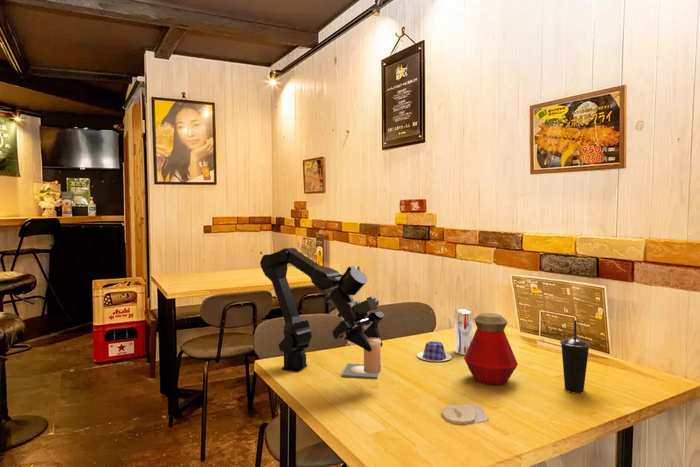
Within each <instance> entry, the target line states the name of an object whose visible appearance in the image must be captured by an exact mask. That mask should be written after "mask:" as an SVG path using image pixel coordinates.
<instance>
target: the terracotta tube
mask: <svg viewBox="0 0 700 467" xmlns="http://www.w3.org/2000/svg"><path fill="white" fill-rule="evenodd" d="M365 338H366V340H367V341H368V343H369V344H370V346H371V348H372V350H371V351H370V352H369V351H367V350H365V349H363V364H364V372H366V373H371V374H374V373H380V372H381V371H382V370H381V368H382V363H381V362H382V361H381V360H382V358H381V355H382V354H381V352H382V351H381V350H382V349H381V348H382V347H381V341H382V338H381V337H380V338H381V339H380V338H376V337H365Z"/></svg>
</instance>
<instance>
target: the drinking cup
mask: <svg viewBox="0 0 700 467" xmlns="http://www.w3.org/2000/svg"><path fill="white" fill-rule="evenodd" d="M577 322H578V321H577V320H576V319H575V320H573V337H568V338H565V339H561V340H560V345H561V354H562V355H561V357H562V358H561V359H562V368H563V369H562V370H563V379H564V380H563V382H564V390H565V389H566V390H567V391H566V390H565V391H566V392H568V391H570V392H569V393H572V392H574V393H573V394H582V393H581V392H583V393H584V392H585V382H586V376H587V375H586V374H587V367H588V366H587V365H588V358H589V350H590V347H591V344H590V343H589V342H588V341H586V340H583V339H581V338H578V337H577V334H578V333H577V330H578V329H577V326H578V325H577V324H578V323H577Z"/></svg>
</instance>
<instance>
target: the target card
mask: <svg viewBox="0 0 700 467" xmlns="http://www.w3.org/2000/svg"><path fill="white" fill-rule="evenodd" d="M379 373H380V372H379ZM379 373H374V374H371V373H366V372H364V363H363V364H362V363H361V364H360V363H347V365H346V367H345V368H344V370H343V371H342V373H341V378H356V379H358V378H359V379H374V380H377V379H378V376H379Z"/></svg>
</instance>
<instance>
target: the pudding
mask: <svg viewBox="0 0 700 467" xmlns="http://www.w3.org/2000/svg"><path fill="white" fill-rule="evenodd" d="M416 356H417V357H418V358H419V359H421V360H424V361H429V362H438V361H440V362H444V361H448V360H451V359H452V357H453V356H452V355H451V354H450V353H448V352H446V351H445V347H444V344H443V343H442V342H440V341H433V340H432V341H431V340H430V341H427V342H426V344H425V346H424V349H423V351H420V352H418V353H417V355H416Z"/></svg>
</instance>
